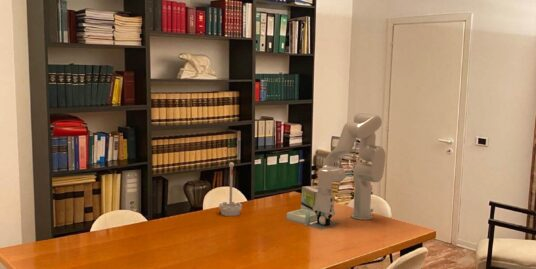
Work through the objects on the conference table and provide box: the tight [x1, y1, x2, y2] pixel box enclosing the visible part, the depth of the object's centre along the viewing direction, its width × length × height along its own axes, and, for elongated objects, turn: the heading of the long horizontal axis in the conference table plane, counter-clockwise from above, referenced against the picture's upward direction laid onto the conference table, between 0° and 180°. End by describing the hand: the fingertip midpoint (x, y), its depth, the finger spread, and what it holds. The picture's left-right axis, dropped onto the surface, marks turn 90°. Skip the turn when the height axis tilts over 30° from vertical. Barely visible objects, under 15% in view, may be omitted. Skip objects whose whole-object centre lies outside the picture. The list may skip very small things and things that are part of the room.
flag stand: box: [218, 161, 243, 217], centre depth 300 cm, size 13×13×30 cm
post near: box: [304, 210, 310, 226], centre depth 281 cm, size 2×2×8 cm
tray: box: [286, 208, 317, 224], centre depth 292 cm, size 13×13×3 cm
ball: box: [319, 215, 326, 225], centre depth 282 cm, size 5×5×5 cm
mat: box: [284, 217, 341, 231], centre depth 289 cm, size 17×27×1 cm, turn 47°
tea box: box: [300, 185, 326, 216], centre depth 306 cm, size 15×10×15 cm, turn 25°
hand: (323, 223), depth 282 cm, fingers closed on ball, 4 cm apart
